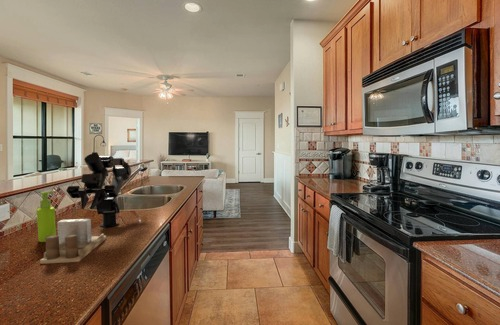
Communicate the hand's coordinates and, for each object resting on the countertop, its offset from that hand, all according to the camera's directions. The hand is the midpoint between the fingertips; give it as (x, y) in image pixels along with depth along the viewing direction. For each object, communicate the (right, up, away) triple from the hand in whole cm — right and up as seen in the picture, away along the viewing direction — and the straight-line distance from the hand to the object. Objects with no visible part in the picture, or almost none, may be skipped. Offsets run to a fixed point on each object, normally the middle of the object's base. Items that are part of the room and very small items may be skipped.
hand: (86, 208), depth 105 cm
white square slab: (+1, -13, -9) cm, 15 cm away
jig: (+1, -14, -8) cm, 16 cm away
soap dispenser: (-18, -14, +4) cm, 23 cm away
